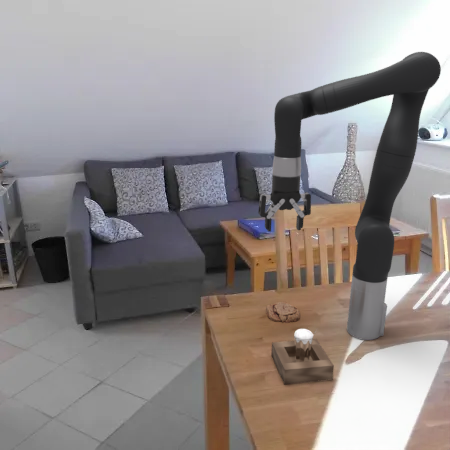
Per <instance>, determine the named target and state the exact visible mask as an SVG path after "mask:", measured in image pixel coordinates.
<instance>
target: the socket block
mask: <svg viewBox="0 0 450 450" xmlns="http://www.w3.org/2000/svg"><path fill="white" fill-rule="evenodd" d="M270 353H271V359H272V361H273V363H274V365H275V366H276V370H277V371H278V374H279V376H280V378H281V381H282V383H283V385H291V384H300V383H313V382H323V381H333V376H334V370H335V369H334V366H335V365H334V364H333V362H332V360H331V359H330V358H329V355H328V354H327V352H326V351H325V350H324V348H323V346H322V345H321V343H320V341H319V340H318V339H317V338H313V339H312V345H311V351H310V357H309V361H307V362H295V340H285V341H274V342H273V341H272V342H271V352H270Z"/></svg>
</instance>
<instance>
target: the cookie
mask: <svg viewBox="0 0 450 450" xmlns="http://www.w3.org/2000/svg"><path fill="white" fill-rule="evenodd" d="M265 308H266V309H265V314H266V315H267V318H268V319H269V320H270V321H273V322H281V323H282V324H283V323H285V324H289V323H296V322H297V321H299V320H300V319H301V312H300V309H298V307H297V306H295V305H292V304H290V303H287V302H286V301H279V302H278V301H277V302H275V303H273V304H267V305H266V307H265Z"/></svg>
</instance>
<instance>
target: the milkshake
mask: <svg viewBox="0 0 450 450" xmlns="http://www.w3.org/2000/svg"><path fill="white" fill-rule="evenodd" d="M317 331H318V328H316V329H315V331H314V333H313V332H312V331H311V330H309V329H307V328H298V329H296V330H295V332H294V334H293V335H294V337H293V339H294V341H295V362H307V361H309V357H310V351H311V345H312V339H314V335H315V334H316V333H317Z"/></svg>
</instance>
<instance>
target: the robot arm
mask: <svg viewBox="0 0 450 450" xmlns="http://www.w3.org/2000/svg"><path fill="white" fill-rule="evenodd" d="M441 68H442V67H441V63H440V61H439V60H438V58H437V57H436V56H435V55H433V54H431V53H430V52H425V51H416V52H413V53H411V54H408V55H406V56H405V57H404V58H403V59H402V60H400V61H397V62H395V63H394V64H391V65H389V66H386V67H383V68H382V69H378V70H376V71H373V72H369V73H365V74H362V75H356V76H352V77H348V78H344V79H340V80H336V81H332V82H330V83H327V84H323V85H321V86H318V87H315V88H313V89H310V90H307V91H302V92H298V93H294V94H293V93H292V94H291V95H286V96H284V97H282V98H281V99H279V100H278V101H277V102H276V104H275V107H274V119H273V120H274V121H273V122H274V134H275V136H274V137H275V140H274V151H273V152H274V155H273V161H272V175H271V177H272V179H271V193H270V194H264V193H260V195H259V201H258V212H257V213H258V215H259V216H260V218H264V229H265V230H266V231H267V233H268V232H272V217H273V215H274V214H276V213H277V212H278V210H280V211H285V210H287V211H292V210H294V211H295V213H296V214H297V215H296V226H295V227H296V230H297V231H301V230H302V229H303V227H304V219H305V217H306V216H310V215H311V213H312V210H311V209H312V207H311V206H312V195H311V194H310V193H309V192H307V191H305V192H303V193H301V192H300V190H301V189H300V188H301V173H302V159H301V158H302V156H301V155H302V137H301V130H302V127H301V126H302V120H305V119H308V118H312V117H315V116H323V115H328V114H332V113H334V112H337V111H342V110H345V109H348V108H351V107H354V106H357V105H360V104H364V103H366V102H369V101H372V100H376V99H380V98H384V97H388V96H392V102H391V106H390V111H389V113H388V116H387V118H386V121H385V124H384V126H383V129H382V132H381V135H380V139H379V143H378V144H377V149H376V152H375V157H374V159H373V166H372V170H371V174H370V179H369V184H368V189H367V190H368V191H367V194H366V199H365V201H364V204H363V208H362V210H361V212H360V215H359V218H358V221H357V222H356V226H355V229H354V237H355V240H356V243H357V244H356V247H357V248H356V257H355V263H354V264H353V266H352V274H351V285H350V293H349V294H350V295H349V305H348V314H347V315H348V316H347V324H346V325H347V326H346V331H347V333H348V334H350V336H353V337H354V338H356V339H360V340H366V341H367V340H368V341H372V340H376V339H378V338H379V337H383V336H384V335H385V334H384V333H385V325H386V317H387V309H388V304H387V303H385V302H386V300H385V299H386V293H387V287H388V286H387V284H388V275H389V272H390V271H391V267H392V262H393V256H394V250H395V235H394V232H393V230H392V228H391V227H390V223H391V216H392V212H393V207H394V204H395V202H396V199H397V197H398V195H399V193H400V192H401V190H402V189H403V187H404V185H405V183H406V181H407V180H408V177H409V176H410V173H411V169H412V166H413V164H414V163H413V162H414V159H415V157H416V152H417V146H418V141H419V140H418V138H419V131H420V130H419V129H420V128H419V127H420V118H421V113H422V110H423V108H424V107H423V106H424V104H425V100H426V99H427V96H428V93H429V90H430V89H431V88H433V86H435V84H436V83H437V82H438V81H439V79H440V75H441V71H442V69H441ZM269 200H270V201H271V202H272V203H271V204H270V205H269V207H268V209H267V210H266V205H267V203H268V202H269ZM300 200H302V202H303V210H302V209H301V208H300V206H299V205H298V202H299V201H300Z"/></svg>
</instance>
